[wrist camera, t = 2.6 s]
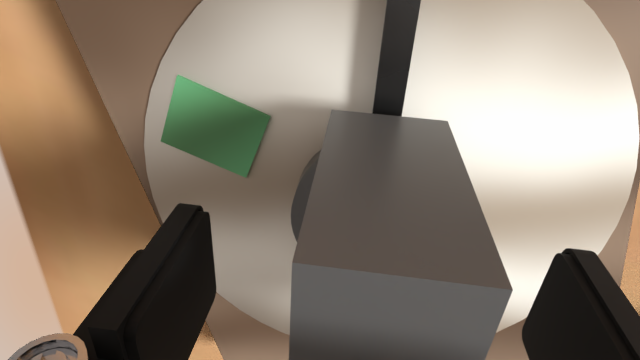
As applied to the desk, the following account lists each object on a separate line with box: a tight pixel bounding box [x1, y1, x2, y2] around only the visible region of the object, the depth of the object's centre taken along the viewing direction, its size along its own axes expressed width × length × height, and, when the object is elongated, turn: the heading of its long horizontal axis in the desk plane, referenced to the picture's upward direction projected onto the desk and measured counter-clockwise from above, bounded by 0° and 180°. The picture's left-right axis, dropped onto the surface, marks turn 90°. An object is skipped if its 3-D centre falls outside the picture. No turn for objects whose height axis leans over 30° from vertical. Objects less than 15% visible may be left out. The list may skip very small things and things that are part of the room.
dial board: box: [56, 0, 640, 360], centre depth 15 cm, size 20×16×3 cm
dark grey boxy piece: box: [289, 0, 513, 360], centre depth 10 cm, size 10×5×7 cm, turn 177°
